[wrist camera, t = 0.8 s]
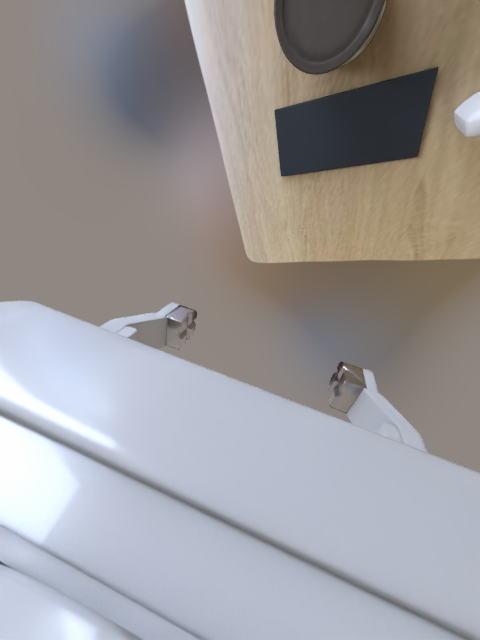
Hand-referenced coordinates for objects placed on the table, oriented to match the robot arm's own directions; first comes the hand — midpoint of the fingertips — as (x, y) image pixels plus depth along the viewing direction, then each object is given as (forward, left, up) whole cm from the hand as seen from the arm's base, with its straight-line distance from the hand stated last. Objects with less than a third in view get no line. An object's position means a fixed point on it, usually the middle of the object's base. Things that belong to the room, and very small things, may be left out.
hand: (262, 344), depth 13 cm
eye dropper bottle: (-2, +17, -45) cm, 48 cm away
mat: (-2, 0, -44) cm, 44 cm away
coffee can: (-15, -1, -45) cm, 47 cm away
